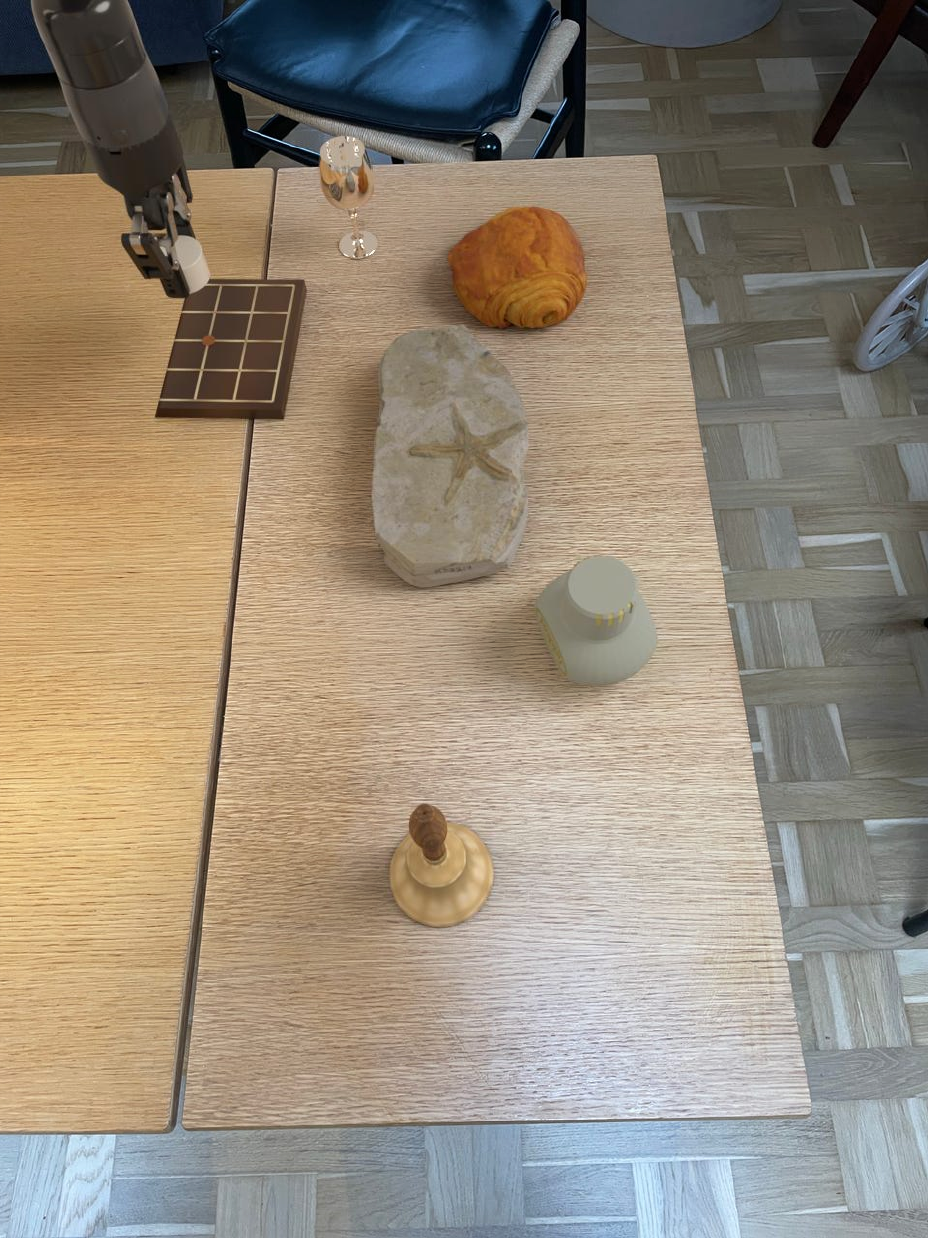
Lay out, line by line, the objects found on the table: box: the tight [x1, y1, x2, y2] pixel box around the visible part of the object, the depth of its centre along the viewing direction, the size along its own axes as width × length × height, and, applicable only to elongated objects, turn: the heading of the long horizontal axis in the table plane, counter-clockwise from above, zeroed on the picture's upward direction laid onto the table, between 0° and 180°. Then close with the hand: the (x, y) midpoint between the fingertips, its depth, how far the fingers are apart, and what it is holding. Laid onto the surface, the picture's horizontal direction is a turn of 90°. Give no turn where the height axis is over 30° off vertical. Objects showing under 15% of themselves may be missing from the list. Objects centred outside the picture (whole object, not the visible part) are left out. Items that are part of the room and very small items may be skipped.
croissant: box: [446, 205, 588, 330], centre depth 104 cm, size 14×16×8 cm
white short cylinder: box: [160, 235, 211, 294], centre depth 94 cm, size 5×5×3 cm
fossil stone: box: [370, 323, 530, 588], centre depth 94 cm, size 28×15×5 cm, turn 0°
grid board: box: [154, 278, 308, 420], centre depth 104 cm, size 18×18×2 cm
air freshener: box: [533, 554, 659, 687], centre depth 82 cm, size 11×8×10 cm
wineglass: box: [318, 135, 379, 260], centre depth 105 cm, size 6×6×12 cm
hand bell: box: [388, 802, 495, 928], centre depth 71 cm, size 8×8×16 cm
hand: (184, 274), depth 95 cm, fingers closed on white short cylinder, 4 cm apart
